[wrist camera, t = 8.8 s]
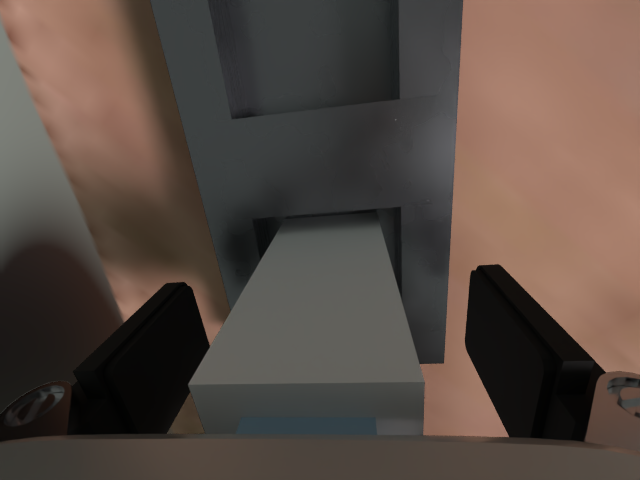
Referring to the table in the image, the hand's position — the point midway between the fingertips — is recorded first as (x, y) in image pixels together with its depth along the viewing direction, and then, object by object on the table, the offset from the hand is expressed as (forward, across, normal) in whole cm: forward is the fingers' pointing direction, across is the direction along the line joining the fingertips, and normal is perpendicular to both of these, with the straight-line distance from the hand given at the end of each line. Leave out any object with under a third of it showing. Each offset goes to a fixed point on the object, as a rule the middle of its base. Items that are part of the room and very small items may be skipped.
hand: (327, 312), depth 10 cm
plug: (+4, 0, 0) cm, 4 cm away
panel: (+5, 0, -4) cm, 7 cm away
